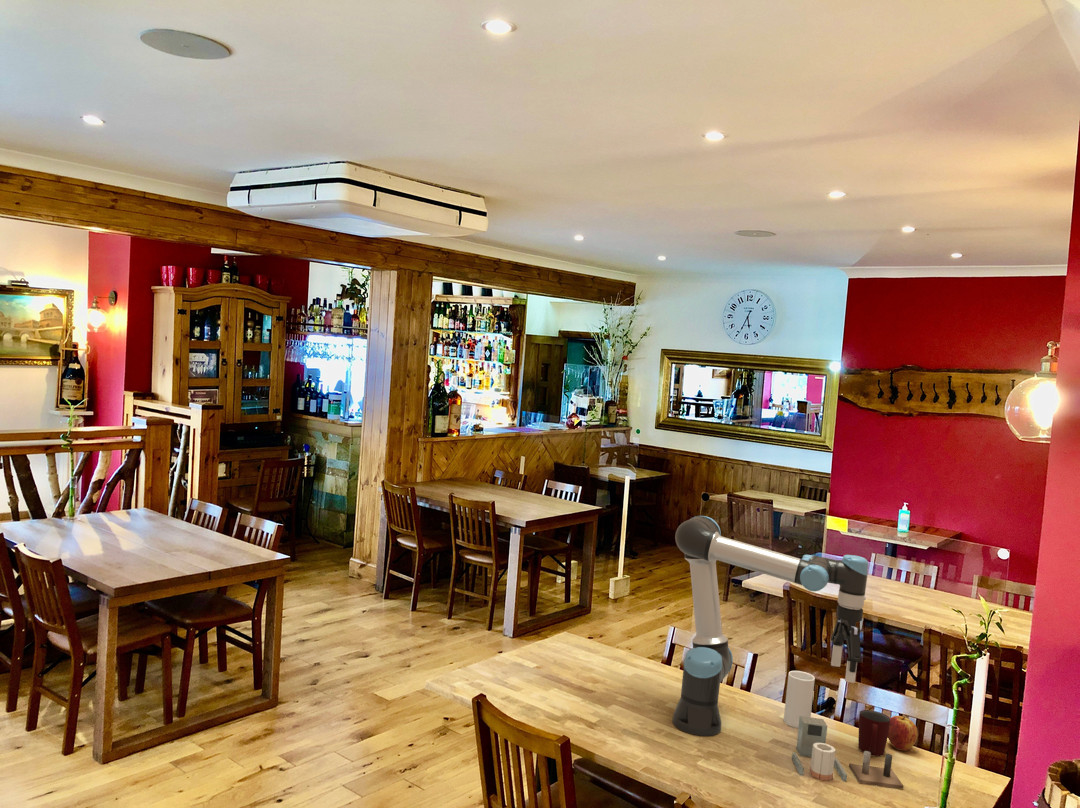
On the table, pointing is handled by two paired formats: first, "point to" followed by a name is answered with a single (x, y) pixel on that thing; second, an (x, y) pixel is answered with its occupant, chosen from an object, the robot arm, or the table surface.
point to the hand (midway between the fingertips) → (842, 673)
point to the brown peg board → (876, 773)
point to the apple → (902, 733)
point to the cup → (798, 697)
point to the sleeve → (822, 761)
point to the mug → (873, 732)
